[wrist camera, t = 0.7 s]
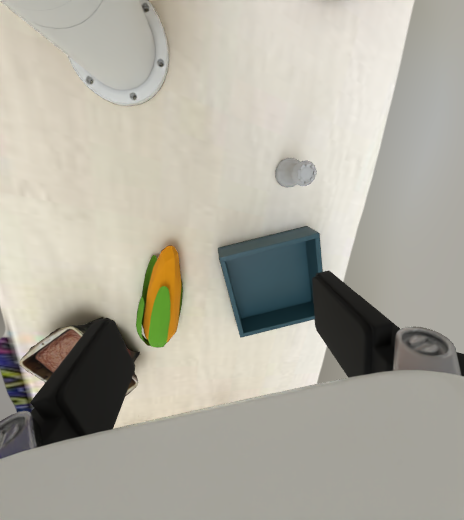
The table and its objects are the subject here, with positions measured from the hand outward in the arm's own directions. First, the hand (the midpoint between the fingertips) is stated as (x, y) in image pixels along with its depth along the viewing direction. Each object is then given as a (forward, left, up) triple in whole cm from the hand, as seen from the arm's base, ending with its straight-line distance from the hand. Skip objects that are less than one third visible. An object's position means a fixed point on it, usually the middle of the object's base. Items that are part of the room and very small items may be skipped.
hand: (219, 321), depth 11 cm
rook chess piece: (-3, +14, -31) cm, 34 cm away
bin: (+15, +8, -30) cm, 35 cm away
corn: (+12, -12, -31) cm, 35 cm away
